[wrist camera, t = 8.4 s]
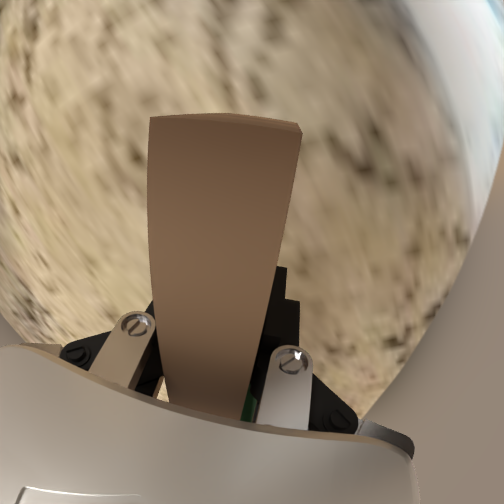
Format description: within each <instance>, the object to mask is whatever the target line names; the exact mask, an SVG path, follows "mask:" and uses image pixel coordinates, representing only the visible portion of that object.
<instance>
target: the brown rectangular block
mask: <svg viewBox="0 0 504 504" xmlns="http://www.w3.org/2000/svg"><path fill="white" fill-rule="evenodd" d="M302 134H303V133H302V131H301V129H300V127H299V126H298V124H297V123H294V122H288V121H283V120H277V119H270V118H264V117H257V116H249V115H241V114H232V113H208V114H184V115H170V116H158V117H150V125H149V141H148V167H147V216H148V243H149V260H150V274H151V285H152V296H153V305H154V314H155V322H156V329H157V336H158V343H159V350H160V356H161V362H162V367H163V373H164V378H165V384H166V389H167V394H168V398H169V403H171V404H175V405H178V406H182V407H185V408H189V409H192V410H196V411H200V412H204V413H208V414H212V415H216V416H220V417H225V418H230V419H234V420H239V421H240V418H241V414H242V410H243V406H244V402H245V398H246V394H247V390H248V386H249V382H250V378H251V374H252V370H253V366H254V362H255V358H256V354H257V350H258V346H259V341H260V337H261V333H262V329H263V324H264V320H265V316H266V311H267V307H268V302H269V298H270V293H271V289H272V284H273V280H274V275H275V271H276V266H277V261H278V257H279V252H280V247H281V242H282V238H283V233H284V228H285V223H286V218H287V213H288V208H289V203H290V198H291V193H292V188H293V182H294V177H295V172H296V167H297V161H298V156H299V150H300V145H301V139H302Z"/></svg>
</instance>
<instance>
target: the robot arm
mask: <svg viewBox="0 0 504 504" xmlns="http://www.w3.org/2000/svg"><path fill="white" fill-rule="evenodd" d="M286 276H287V268H285V267H279V266H276V271H275V275H274V280H273V284H272V289H271V293H270V298H269V302H268V307H267V311H266V316H265V320H264V324H263V329H262V333H261V337H260V341H259V346H258V350H257V354H256V358H255V362H254V366H253V370H252V374H251V378H250V382H249V384H251V386H250V393H251V394H252V396H253V397H254V398H255V399H256V400H257V402H256V406H255V410H254V414H253V418H252V422H251V423H250V422H244V421H239V420H234V419H230V418H225V417H220V416H216V415H212V414H208V413H204V412H200V411H196V410H192V409H189V408H185V407H182V406H178V405H175V404H171V403H168V402H165V401H162V400H159V399H157V396H158V393H159V390H160V388H161V385H162V382H163V379H164V373H163V367H162V362H161V356H160V350H159V343H158V336H157V329H156V322H155V314H154V305H153V300H152V302H151V303H150V305H149V306H148V308H147V309H146V311H145V312H141V311H133V312H129V313H126V314H125V315H123V316H122V317H121V318H120V319H119V320H118V322H117V324H116V325H115V327H114V328H113V330H112V331H109V332H105V333H102V334H98V335H95V336H91V337H88V338H84V339H80V340H77V341H73V342H71V343H68V344H67V345H66V346H65V347H62V345H60V344H39V343H21V344H20V345H5V346H2V347H0V504H421V503H420V491H419V484H418V478H417V474H416V470H415V467H414V464H413V462H412V459H413V455H414V450H415V447H414V443H413V441H412V440H411V439H410V438H409V437H408V436H406V435H404V434H402V433H399V432H396V431H394V430H391V429H389V428H386V427H384V426H381V425H379V424H377V423H374V422H372V421H369V420H367V419H365V420H364V421H363V420H360V419H358V417H357V415H356V413H355V412H354V411H353V410H352V409H351V408H350V407H349V406H348V405H347V404H346V403H345V402H343V401H342V400H341V399H340V398H339V397H338V396H337V395H336V394H335V393H334V392H332V391H331V390H330V389H329V388H328V387H327V386H326V385H325V384H324V383H323V382H322V381H321V380H319V379H318V378H317V377H316V376H315V375H314V374H313V373H312V372H313V362H312V358H311V357H310V355H309V354H308V353H307V352H306V351H305V350H303V349H302V348H300V347H299V322H300V302H299V301H295V300H289V299H285V289H286Z"/></svg>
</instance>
